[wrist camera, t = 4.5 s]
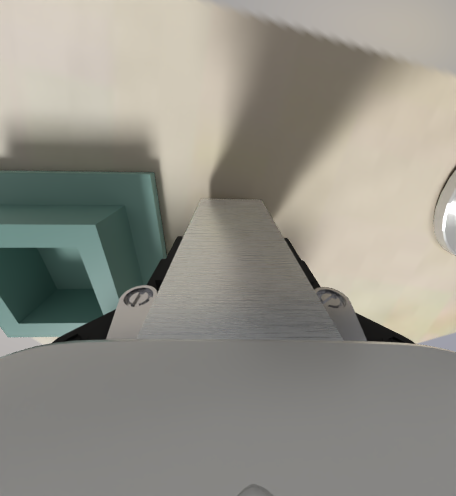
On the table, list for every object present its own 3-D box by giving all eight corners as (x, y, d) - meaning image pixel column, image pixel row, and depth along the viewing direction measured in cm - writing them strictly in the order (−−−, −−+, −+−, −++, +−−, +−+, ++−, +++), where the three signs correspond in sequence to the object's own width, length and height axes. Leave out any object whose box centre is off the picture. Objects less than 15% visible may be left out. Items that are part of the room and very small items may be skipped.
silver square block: (261, 199, 15) (376, 395, 3) (256, 251, 17) (316, 481, 6) (200, 198, 15) (110, 394, 3) (203, 251, 17) (153, 481, 5)
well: (154, 172, 15) (125, 185, 11) (174, 309, 22) (162, 353, 17) (-41, 169, 14) (-155, 182, 10) (41, 310, 21) (-7, 355, 17)
